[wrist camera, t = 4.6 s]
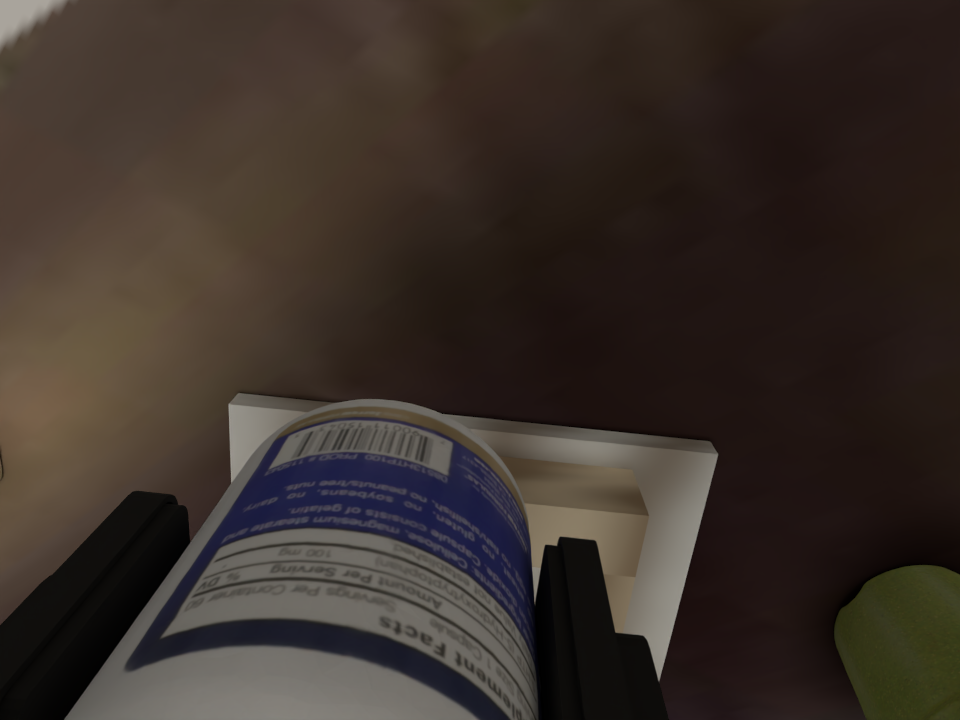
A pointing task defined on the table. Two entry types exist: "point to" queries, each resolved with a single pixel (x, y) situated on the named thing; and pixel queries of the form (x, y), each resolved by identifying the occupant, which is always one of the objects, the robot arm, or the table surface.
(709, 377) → the table surface
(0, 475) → the grandmother figurine
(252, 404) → the frame
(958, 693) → the plant pot
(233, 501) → the pill bottle
